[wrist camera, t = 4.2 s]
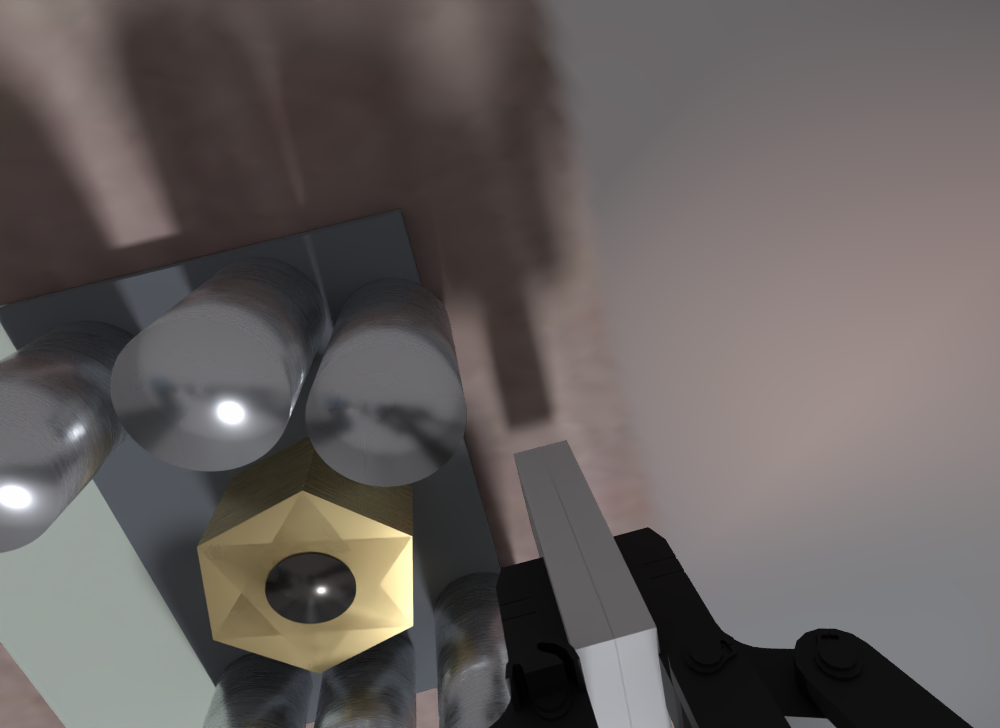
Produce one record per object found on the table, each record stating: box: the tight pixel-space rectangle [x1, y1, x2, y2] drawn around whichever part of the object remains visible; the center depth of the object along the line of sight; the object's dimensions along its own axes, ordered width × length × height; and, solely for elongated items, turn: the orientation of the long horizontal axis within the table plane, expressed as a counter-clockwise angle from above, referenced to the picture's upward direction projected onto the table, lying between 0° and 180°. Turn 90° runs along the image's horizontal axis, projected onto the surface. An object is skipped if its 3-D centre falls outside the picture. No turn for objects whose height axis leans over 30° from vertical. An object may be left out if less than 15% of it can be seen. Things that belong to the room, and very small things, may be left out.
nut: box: [197, 436, 413, 674], centre depth 16 cm, size 6×5×3 cm
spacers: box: [0, 257, 511, 728], centre depth 15 cm, size 10×15×5 cm
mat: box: [0, 209, 501, 728], centre depth 18 cm, size 15×16×1 cm
